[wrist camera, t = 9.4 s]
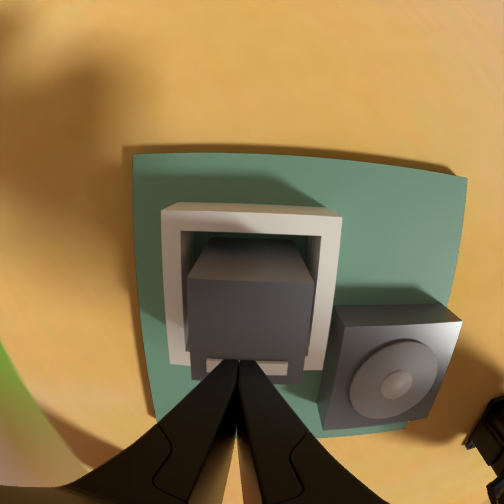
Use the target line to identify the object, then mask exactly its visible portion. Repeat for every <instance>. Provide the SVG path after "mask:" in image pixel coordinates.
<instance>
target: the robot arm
mask: <svg viewBox="0 0 504 504" xmlns="http://www.w3.org/2000/svg"><path fill="white" fill-rule="evenodd" d="M236 429H237V447H238V456H239V466H240V475H241V484H242V493H243V502H244V504H389V503H388V502H386V501H384V500H383V499H382V498H380V497H379V496H378V495H376V494H375V493H374V492H373V491H371V490H370V489H369V488H368V487H367V486H365V485H364V484H363V483H362V482H361V481H359V480H358V479H357V478H356V477H355V476H354V475H352V474H351V473H350V472H349V471H348V470H347V469H345V468H344V467H343V466H342V465H341V464H340V463H339V462H338V461H337V460H336V459H335V458H334V457H333V456H332V455H330V454H329V452H328V451H327V450H326V449H325V448H324V447H323V446H322V445H321V444H320V442H319V441H318V440H317V439H316V438H315V436H314V435H313V434H312V433H311V432H309V429H308V428H307V427H306V425H305V424H304V423H303V422H302V420H301V419H300V418H299V417H298V415H297V414H296V413H295V412H294V410H293V409H292V408H291V407H290V405H289V404H288V403H287V402H286V400H285V399H284V398H283V396H282V395H281V394H280V392H279V391H278V390H277V389H276V387H275V386H274V385H273V383H272V382H271V381H270V379H269V378H268V377H267V375H266V374H265V373H264V372H263V370H262V369H261V368H260V366H259V365H258V364H257V362H256V361H255V360H240V362H239V360H237V359H223V360H222V361H221V362H220V363H219V364H218V365H217V366H216V367H215V368H214V369H213V370H212V371H211V372H210V373H209V374H208V375H207V376H206V377H205V378H204V379H203V380H202V381H201V382H200V383H199V384H198V385H197V386H196V387H195V388H194V389H192V390H191V391H190V392H189V393H188V394H187V395H186V396H185V397H184V398H183V399H182V400H181V401H180V402H179V403H178V404H177V405H176V406H175V407H173V408H172V409H171V410H170V411H169V412H168V413H167V414H166V415H165V416H164V417H163V418H162V419H161V420H160V421H158V423H157V424H155V425H154V426H153V427H152V428H151V429H149V430H148V431H147V432H146V433H145V434H144V435H143V436H141V437H140V438H139V439H138V440H137V441H135V442H134V443H133V444H131V445H130V446H129V447H127V448H126V449H124V450H123V451H122V452H120V453H119V454H117V455H116V456H114V457H113V458H111V459H110V460H108V461H107V462H105V463H104V464H102V465H100V466H99V467H97V468H96V469H94V470H92V471H91V472H89V473H88V474H86V475H84V476H83V477H81V478H79V479H77V480H76V481H74V482H71V483H69V484H66V485H63V486H58V487H17V486H3V485H0V504H222V500H223V496H224V491H225V486H226V482H227V477H228V472H229V468H230V463H231V458H232V453H233V449H234V444H235V438H236ZM465 447H466V449H467V450H469V449H472V448H475V447H476V448H477V449H478V451H479V452H480V454H481V455H482V457H483V459H484V460H485V462H486V463H487V465H488V466H491V467H492V469H493V470H494V472H495V473H496V475H497V478H496V479H494V480H493V481H492V482H490V483H489V484H488V485H486V488H487V491H488V492H487V493H488V496H489V499H490V502H491V504H504V396H502V397H499V398H496V399H493V400H492V401H491V402H490V403H489V404H488V406H487V408H486V410H485V412H484V414H483V416H482V418H481V420H480V421H479V423H478V425H477V427H476V429H475V430H474V432H473V434H472V436H471V437H470V439H469V441H468V442H467V444H466V446H465Z"/></svg>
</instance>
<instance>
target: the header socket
mask: <svg viewBox="0 0 504 504" xmlns="http://www.w3.org/2000/svg"><path fill="white" fill-rule="evenodd" d="M341 228H342V217H341V216H340V215H338V214H336V213H335V212H333V211H332V210H330V209H328V208H326V207H309V206H291V205H270V204H244V203H209V202H177V203H175V204H173V205H171V206H169V207H167V208H165V209H163V210H161V239H162V266H163V285H164V301H165V315H166V327H167V339H168V349H169V359H170V364H176V365H186V366H191V364H190V349H189V331H188V309H187V280H186V278H187V276H188V275H189V273H190V271H191V270H192V268H193V266H194V231H210V232H240V233H266V234H290V235H308V248H307V260H306V267H307V269H308V271H309V273H310V275H311V277H312V279H313V281H314V291H313V300H312V309H311V317H310V325H309V333H308V340H307V348H306V355H305V362H304V369H303V370H322V369H323V363H324V357H325V352H326V346H327V340H328V333H329V327H330V320H331V313H332V306H333V299H334V291H335V284H336V275H337V267H338V258H339V249H340V239H341Z"/></svg>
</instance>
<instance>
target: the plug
mask: <svg viewBox="0 0 504 504" xmlns="http://www.w3.org/2000/svg"><path fill="white" fill-rule="evenodd" d="M186 280H187V309H188V331H189V349H190V364H191V378H192V380H198V381H202V380H203V379H204V378H205V377H206V376H207V375H208V374H209V373H210V372H211V371H212V370H213V369H214V368H215V367H216V366H217V365H218V364H219V363H220V362H221V361H222V360H223V359H237V360H239V362H240V360H255V361H256V362H257V364H258V365H259V366H260V368H261V369H262V370H263V372H264V373H265V374H266V375H267V377H268V378H269V379H270V381H271V382H272V383H273V384H285V385H298V384H301V382H302V375H303V369H304V362H305V355H306V348H307V340H308V333H309V325H310V317H311V309H312V300H313V291H314V281H313V279H312V277H311V275H310V273H309V271H308V269H307V267H306V265H305V263H304V261H303V259H302V257H301V255H300V253H299V251H298V249H297V247H296V245H295V243H294V241H293V240H277V239H254V238H228V237H211V238H210V240H209V242H208V243H207V245H206V247H205V248H204V250H203V251H202V253H201V255H200V256H199V258H198V260H197V261H196V263H195V265H194V266H193V268H192V270H191V271H190V273H189V275H188V276H187V278H186Z"/></svg>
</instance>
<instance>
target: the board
mask: <svg viewBox="0 0 504 504" xmlns="http://www.w3.org/2000/svg"><path fill="white" fill-rule="evenodd" d="M466 191H467V178H465V177H460V176H454V175H449V174H444V173H438V172H432V171H426V170H420V169H413V168H407V167H400V166H393V165H385V164H377V163H369V162H360V161H351V160H341V159H330V158H319V157H306V156H291V155H273V154H249V153H155V154H133V223H134V246H135V263H136V276H137V288H138V299H139V309H140V318H141V327H142V335H143V343H144V350H145V357H146V364H147V370H148V376H149V382H150V388H151V394H152V399H153V405H154V410H155V415H156V420H157V423H158V421H160V420H161V419H162V418H163V417H164V416H165V415H166V414H167V413H168V412H169V411H170V410H171V409H172V408H173V407H175V406H176V405H177V404H178V403H179V402H180V401H181V400H182V399H183V398H184V397H185V396H186V395H187V394H188V393H189V392H190V391H191V390H192V389H194V388H195V387H196V386H197V385H198V384H199V383H200V382H201V381H198V380H192V378H191V366H186V365H176V364H170V359H169V349H168V339H167V327H166V315H165V301H164V285H163V266H162V239H161V210H163V209H165V208H167V207H169V206H171V205H173V204H175V203H177V202H209V203H244V204H270V205H291V206H309V207H326V208H328V209H330V210H332V211H333V212H335V213H336V214H338V215H340V216H341V217H342V228H341V239H340V249H339V258H338V267H337V275H336V284H335V291H334V299H333V306H334V305H400V304H438V303H442V304H443V305H444V306H445V307H447V305H448V301H449V297H450V292H451V288H452V283H453V279H454V274H455V269H456V264H457V258H458V253H459V247H460V240H461V234H462V227H463V219H464V211H465V202H466ZM211 237H228V238H254V239H277V240H293V241H294V243H295V245H296V247H297V249H298V251H299V253H300V255H301V257H302V259H303V261H304V263H305V265H306V260H307V248H308V235H290V234H266V233H240V232H210V231H194V265H195V263H196V261H197V260H198V258H199V256H200V255H201V253H202V251H203V250H204V248H205V247H206V245H207V243H208V242H209V240H210V238H211ZM333 306H332V313H333ZM332 313H331V320H332ZM331 320H330V326H331ZM329 333H330V327H329ZM329 333H328V339H329ZM327 345H328V340H327ZM326 351H327V346H326ZM325 357H326V352H325ZM325 357H324V362H325ZM323 368H324V363H323ZM322 373H323V369H322V370H303V375H302V382H301V384H298V385H285V384H273V385H274V386H275V387H276V389H277V390H278V391H279V392H280V394H281V395H282V396H283V398H284V399H285V400H286V402H287V403H288V404H289V405H290V407H291V408H292V409H293V410H294V412H295V413H296V414H297V415H298V417H299V418H300V419H301V420H302V422H303V423H304V424H305V425H306V427H307V428H308V429H309V432H311V433H312V434H313V435H314V436H315V438H328V437H342V436H353V435H362V434H371V433H378V432H386V431H392V430H399V429H405V427H406V425H407V422H408V421H406V422H400V423H393V424H386V425H378V426H370V427H361V428H351V429H339V430H324V431H323V429H322V425H321V421H320V416H319V412H318V407H317V399H318V394H319V389H320V384H321V379H322ZM236 438H237V429H236Z"/></svg>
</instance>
